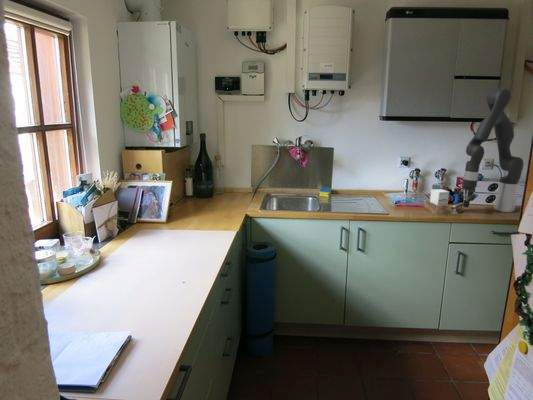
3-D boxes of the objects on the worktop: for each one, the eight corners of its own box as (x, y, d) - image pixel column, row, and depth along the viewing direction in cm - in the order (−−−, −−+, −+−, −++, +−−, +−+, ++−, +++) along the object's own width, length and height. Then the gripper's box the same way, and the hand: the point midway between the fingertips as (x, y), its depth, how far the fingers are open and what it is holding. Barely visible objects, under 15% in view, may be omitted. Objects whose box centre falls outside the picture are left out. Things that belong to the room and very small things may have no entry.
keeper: (444, 207, 240) (445, 199, 238) (458, 214, 226) (459, 205, 224) (423, 207, 238) (424, 199, 237) (436, 214, 224) (437, 206, 223)
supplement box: (436, 212, 228) (439, 192, 224) (428, 209, 235) (430, 189, 231) (446, 212, 230) (449, 191, 226) (438, 208, 236) (441, 188, 233)
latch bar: (463, 204, 235) (464, 199, 235) (467, 204, 234) (468, 199, 233) (451, 207, 227) (452, 202, 226) (455, 208, 225) (456, 203, 224)
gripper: (457, 176, 231) (452, 204, 235) (473, 181, 218) (469, 210, 223) (467, 176, 233) (463, 203, 237) (484, 180, 220) (479, 209, 225)
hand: (466, 206), depth 230 cm, fingers closed
